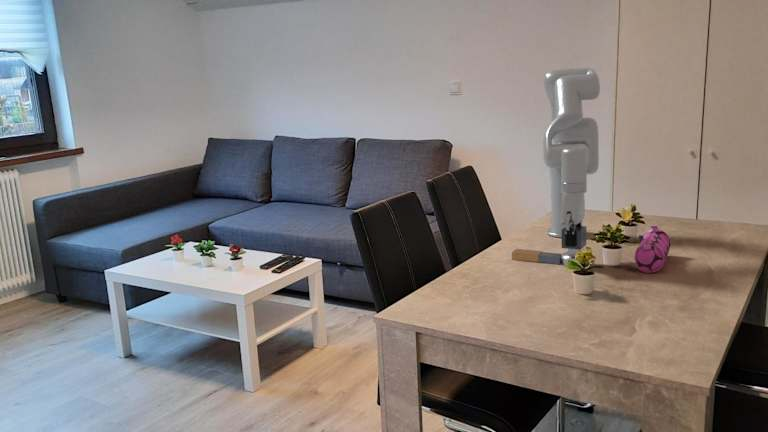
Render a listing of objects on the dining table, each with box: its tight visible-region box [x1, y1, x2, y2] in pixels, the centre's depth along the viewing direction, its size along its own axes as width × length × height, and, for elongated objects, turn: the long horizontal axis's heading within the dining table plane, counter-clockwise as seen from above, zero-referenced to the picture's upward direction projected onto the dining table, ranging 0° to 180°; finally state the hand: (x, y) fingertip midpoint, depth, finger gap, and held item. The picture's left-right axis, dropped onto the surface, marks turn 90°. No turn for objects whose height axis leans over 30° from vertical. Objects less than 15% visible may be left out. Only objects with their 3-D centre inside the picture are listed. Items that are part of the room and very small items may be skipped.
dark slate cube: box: [561, 225, 587, 251], centre depth 207 cm, size 6×6×6 cm
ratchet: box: [511, 248, 579, 267], centre depth 213 cm, size 24×8×7 cm, turn 58°
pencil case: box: [634, 225, 671, 274], centre depth 204 cm, size 21×10×10 cm, turn 155°
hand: (573, 243), depth 207 cm, fingers closed on dark slate cube, 6 cm apart
